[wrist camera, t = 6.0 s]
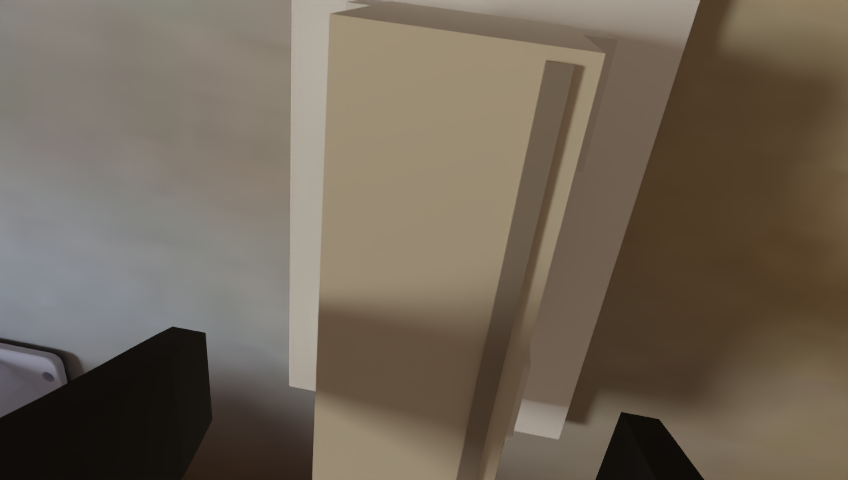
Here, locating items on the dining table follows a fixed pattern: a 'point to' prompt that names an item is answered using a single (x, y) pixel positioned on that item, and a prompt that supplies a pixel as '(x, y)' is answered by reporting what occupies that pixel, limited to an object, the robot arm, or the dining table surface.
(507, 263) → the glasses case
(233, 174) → the dining table surface
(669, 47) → the display stand
